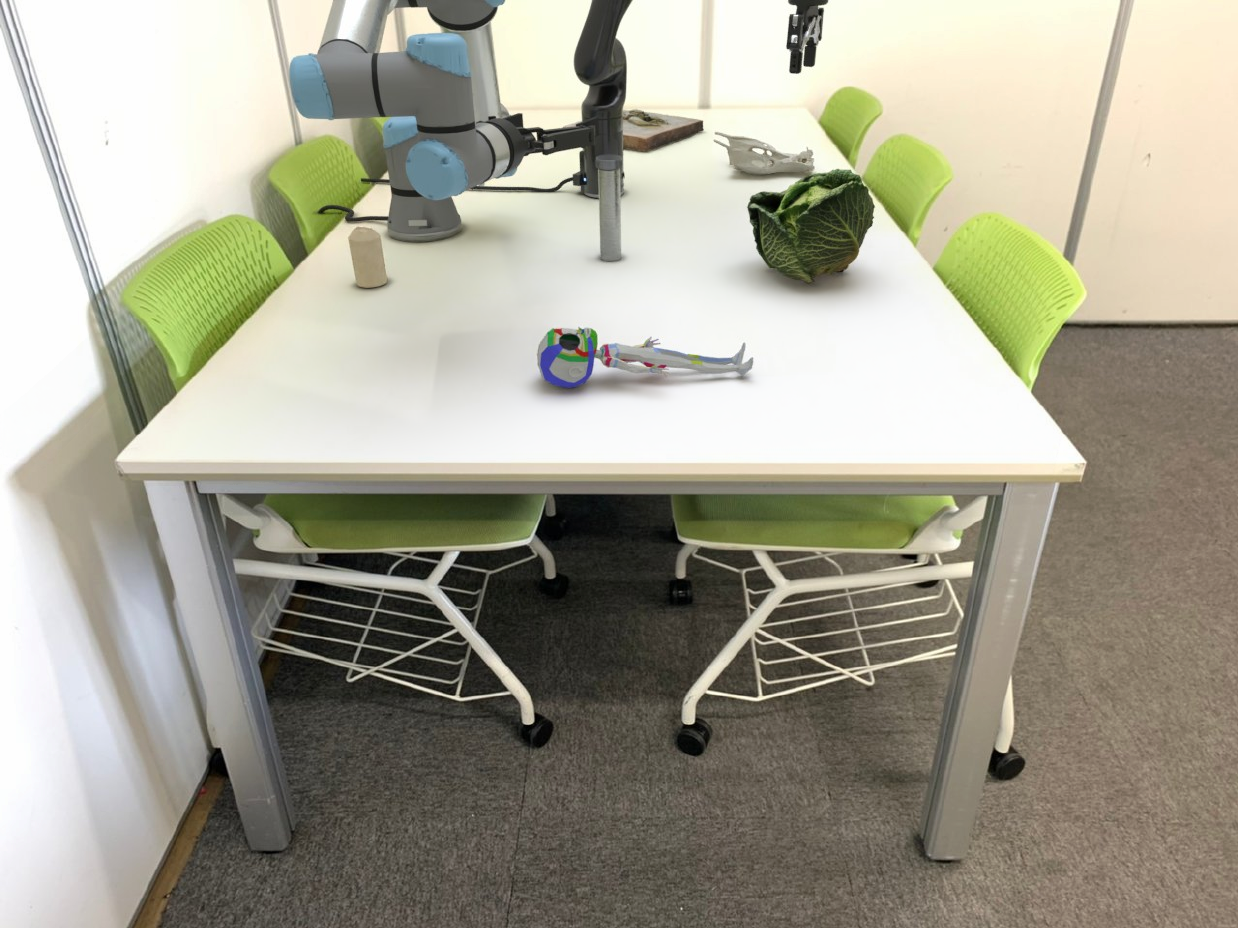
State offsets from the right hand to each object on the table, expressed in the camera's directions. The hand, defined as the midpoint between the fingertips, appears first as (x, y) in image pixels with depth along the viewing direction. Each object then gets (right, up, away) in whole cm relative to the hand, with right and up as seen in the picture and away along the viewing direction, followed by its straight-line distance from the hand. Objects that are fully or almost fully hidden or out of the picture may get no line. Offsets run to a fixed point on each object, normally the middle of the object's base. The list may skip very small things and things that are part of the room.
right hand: (802, 70), depth 176 cm
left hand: (-46, -23, -33) cm, 61 cm away
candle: (-81, -45, -14) cm, 93 cm away
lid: (-38, -22, -14) cm, 46 cm away
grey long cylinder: (-37, -38, -4) cm, 53 cm away
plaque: (-32, +18, +83) cm, 91 cm away
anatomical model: (0, -5, +47) cm, 48 cm away
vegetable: (-2, -43, -13) cm, 45 cm away
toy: (-32, -65, -47) cm, 86 cm away
